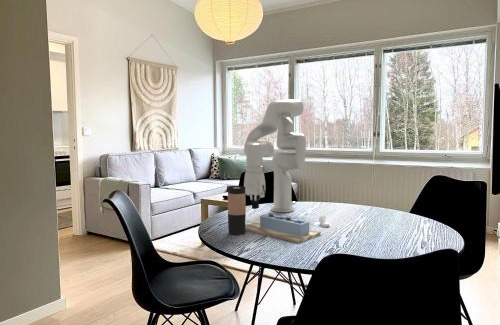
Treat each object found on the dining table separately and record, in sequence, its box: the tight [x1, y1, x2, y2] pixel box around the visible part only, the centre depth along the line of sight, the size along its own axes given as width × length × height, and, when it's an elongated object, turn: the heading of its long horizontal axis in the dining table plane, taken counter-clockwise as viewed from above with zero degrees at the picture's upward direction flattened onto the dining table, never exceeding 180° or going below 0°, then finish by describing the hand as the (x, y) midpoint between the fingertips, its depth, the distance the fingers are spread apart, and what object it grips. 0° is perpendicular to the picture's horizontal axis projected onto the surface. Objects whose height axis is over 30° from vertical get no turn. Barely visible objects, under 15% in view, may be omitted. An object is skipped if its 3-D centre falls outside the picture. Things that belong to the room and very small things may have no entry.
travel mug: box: [227, 185, 247, 236], centre depth 164 cm, size 8×8×20 cm
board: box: [245, 212, 322, 244], centre depth 167 cm, size 16×32×7 cm, turn 47°
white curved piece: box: [313, 215, 332, 228], centre depth 179 cm, size 9×8×4 cm
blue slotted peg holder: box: [259, 213, 310, 237], centre depth 164 cm, size 6×22×5 cm, turn 47°
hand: (255, 208), depth 180 cm, fingers closed
